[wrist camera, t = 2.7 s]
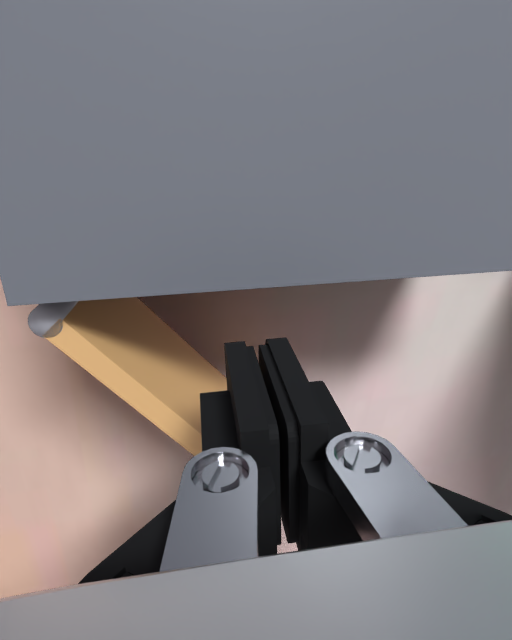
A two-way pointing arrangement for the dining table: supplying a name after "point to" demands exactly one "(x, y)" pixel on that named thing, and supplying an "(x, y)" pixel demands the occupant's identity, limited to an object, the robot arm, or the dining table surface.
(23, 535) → the dining table surface
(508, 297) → the dining table surface
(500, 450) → the dining table surface
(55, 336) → the tan cabinet door
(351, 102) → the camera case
